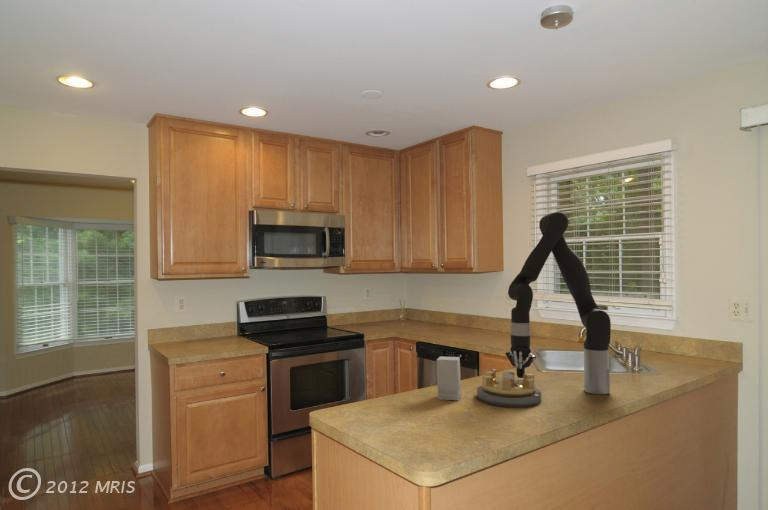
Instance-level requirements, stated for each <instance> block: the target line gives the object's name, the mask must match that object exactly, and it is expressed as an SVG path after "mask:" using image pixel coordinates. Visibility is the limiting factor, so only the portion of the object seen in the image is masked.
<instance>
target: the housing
mask: <svg viewBox="0 0 768 510" xmlns="http://www.w3.org/2000/svg"><path fill="white" fill-rule="evenodd" d="M476 399H477V400H478V401H479V402H481V403H482V404H486V405H489V406H492V407H493V406H495V407H500V408H508V409H524V408H530V407H531V408H532V407H535V406H538V405H540V404H541V403H542V391H541V390H540V389H539V388H536V393H535V394H533V395H530V396H525V397H503V396H496V395H492V394H489V393H486V392H484V391H483V390H482V385H480V386H478V387H476Z"/></svg>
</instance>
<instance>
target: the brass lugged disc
mask: <svg viewBox="0 0 768 510" xmlns="http://www.w3.org/2000/svg"><path fill="white" fill-rule="evenodd" d="M496 376H497V375H496V371H492V370H488V371H485V372H484V375H482V381H481V386H482V390H483V391H484V392H486V393H489V394H492V395H496V396H503V397H525V396H530V395H533V394H535V393H536V389H537V387H536V386H537V384H536V383H535V374H534V373H533V374H532V373H531V372H530V373H529V372H528V373H525V374H523V378H518V377H515V370H514V369H513V370H512V369H506V370H505V371H503V372H502V377H501V376H500V377H499V376H498V377H496Z"/></svg>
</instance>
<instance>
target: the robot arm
mask: <svg viewBox="0 0 768 510" xmlns="http://www.w3.org/2000/svg"><path fill="white" fill-rule="evenodd" d="M538 225H539V231H540V232H541V234H542V237H541V238H540V240H539V241H538V243H537V244H536V246H535V247H534V248H533V250H532V251H531V252H530V254H529V255H528V257H527V258H526V259H525V262H524V264H523V266H522V268H521V269H520V272H519V273H518V274H517V275H516V276H515V278H514V279H513V280H512V281H511V283H510V284H509V287H508V290H507V295H508V297H509V299H511V300H513V301H516V303H515V307H512V308H511V313H510V316H511V317H510V319H511V321H510V345H511V346H510V350H508V351H507V352H505V356H506V357H507V359H508V361H509V363H510V364H511V365H512V367H515V368H516V376H517V378H519V379H523V374H526V373H525V372H526V371H525V369H526V368H529V367H531V365H532V364H533V363H534V361H535V360H536V359H537V356H536V355H535V354H532V350H531V325H530V313H531V312H530V311H531V309H532V304H533V299H534V292H533V288H532V286H530V284H531V283H533V282H536V281H537V279H538V277H540V274H541V272H542V271H543V268H544V266H545V264H546V262H547V260H548V258H549V257H550V254H551V253H552V255H553V257H554V260H555V262H556V264H557V266H558V269H559V271H560V274H561V276H562V278H563V280H564V283H565V285H566V286H567V289H568V292H569V293H570V295H571V296H572V298H573V299H572V300H573V301H574V303H575V305H576V306H575V307H576V309H577V312H578V314H579V318H580V321H581V324H582V325H583V327H584V328H585V329H586V331H585V332H586V335H585V340H584V341H583V391H584V392H586V393H588V394H593V395H611V388H610V387H611V382H610V381H611V380H610V378H611V377H610V371H611V370H610V368H609V367H610V360H609V353H610V352H609V350H610V349H609V347H610V343H611V334H612V333H611V328H612V326H611V323H612V322H611V318H610V315H609V314H608V313H607V311H605V310H602V309H600V308H599V306H598V305H597V303H596V300H595V299H594V296H593V295H592V291H591V284H590V283H591V282H590V279H589V275H588V272H587V269H586V267H585V265H584V263H583V261H582V259H581V257H579V256H578V254H576V252H575V251H574V249H572V248H571V247H570V246H569V243H567V241H566V238H565V235H564V234H565V232H566V231H567V229H568V227H569V219H568V216H567V215H566V214H565V213H564V212H560V211H556V212H551V213H548V214H546V215H544V216H542V217H541V218H540V220H539V224H538Z"/></svg>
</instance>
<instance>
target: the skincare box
mask: <svg viewBox="0 0 768 510" xmlns="http://www.w3.org/2000/svg"><path fill="white" fill-rule="evenodd" d="M436 382H437V383H436V384H437V386H436V387H437V400H443V401H444V400H446V401H459V400H460V399H461V397H462V384H461V382H462V381H461V360H460V356H441V355H440V356H439V357H438V358H437V359H436Z"/></svg>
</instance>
